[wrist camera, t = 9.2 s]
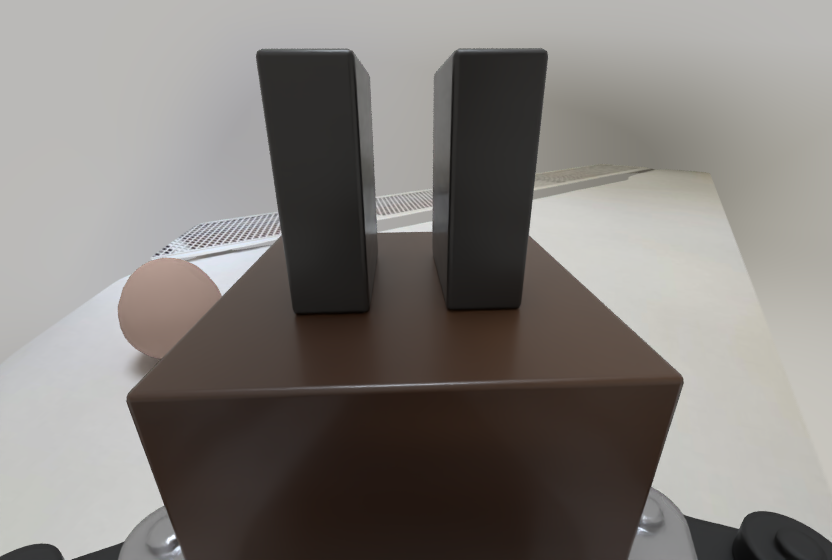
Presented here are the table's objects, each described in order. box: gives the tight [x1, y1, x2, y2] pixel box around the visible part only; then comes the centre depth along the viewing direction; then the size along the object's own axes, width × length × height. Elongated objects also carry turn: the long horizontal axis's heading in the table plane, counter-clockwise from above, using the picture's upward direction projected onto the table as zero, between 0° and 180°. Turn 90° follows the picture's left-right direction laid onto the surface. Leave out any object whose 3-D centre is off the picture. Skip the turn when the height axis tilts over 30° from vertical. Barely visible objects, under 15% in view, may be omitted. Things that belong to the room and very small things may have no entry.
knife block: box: [126, 48, 684, 560], centre depth 8 cm, size 5×5×14 cm
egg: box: [118, 258, 222, 359], centre depth 31 cm, size 7×7×8 cm
